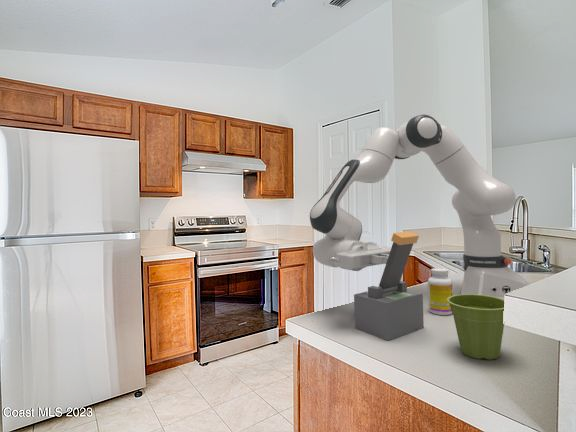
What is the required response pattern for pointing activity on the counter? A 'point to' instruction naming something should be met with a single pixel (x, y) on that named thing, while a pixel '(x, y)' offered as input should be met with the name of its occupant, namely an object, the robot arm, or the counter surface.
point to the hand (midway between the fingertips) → (392, 260)
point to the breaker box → (389, 312)
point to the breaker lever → (397, 260)
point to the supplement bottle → (439, 292)
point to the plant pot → (478, 324)
